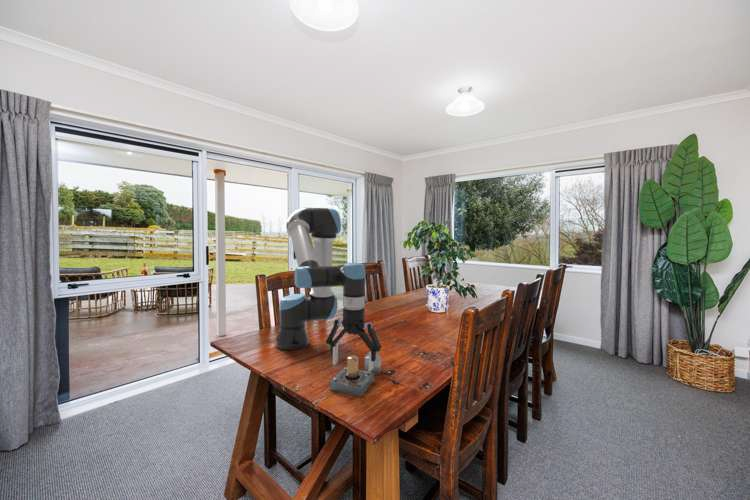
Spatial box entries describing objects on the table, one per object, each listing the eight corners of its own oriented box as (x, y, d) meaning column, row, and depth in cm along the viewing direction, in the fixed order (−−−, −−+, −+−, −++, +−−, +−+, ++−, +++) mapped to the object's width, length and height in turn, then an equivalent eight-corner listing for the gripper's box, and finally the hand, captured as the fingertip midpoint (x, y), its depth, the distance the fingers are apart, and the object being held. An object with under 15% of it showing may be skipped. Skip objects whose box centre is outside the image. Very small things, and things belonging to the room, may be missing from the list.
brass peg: (344, 383, 115) (345, 356, 114) (355, 381, 117) (355, 354, 116) (349, 388, 112) (349, 360, 111) (359, 386, 113) (360, 358, 113)
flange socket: (329, 389, 110) (329, 379, 110) (344, 374, 122) (344, 365, 122) (362, 396, 107) (362, 386, 106) (373, 380, 118) (374, 370, 118)
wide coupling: (362, 373, 123) (362, 358, 123) (367, 366, 130) (368, 352, 129) (377, 376, 121) (378, 360, 121) (382, 369, 127) (383, 354, 127)
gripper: (316, 306, 113) (316, 365, 114) (384, 314, 105) (383, 377, 106) (326, 301, 120) (326, 357, 121) (391, 308, 112) (389, 367, 113)
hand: (352, 366), depth 114 cm, fingers open, 13 cm apart
